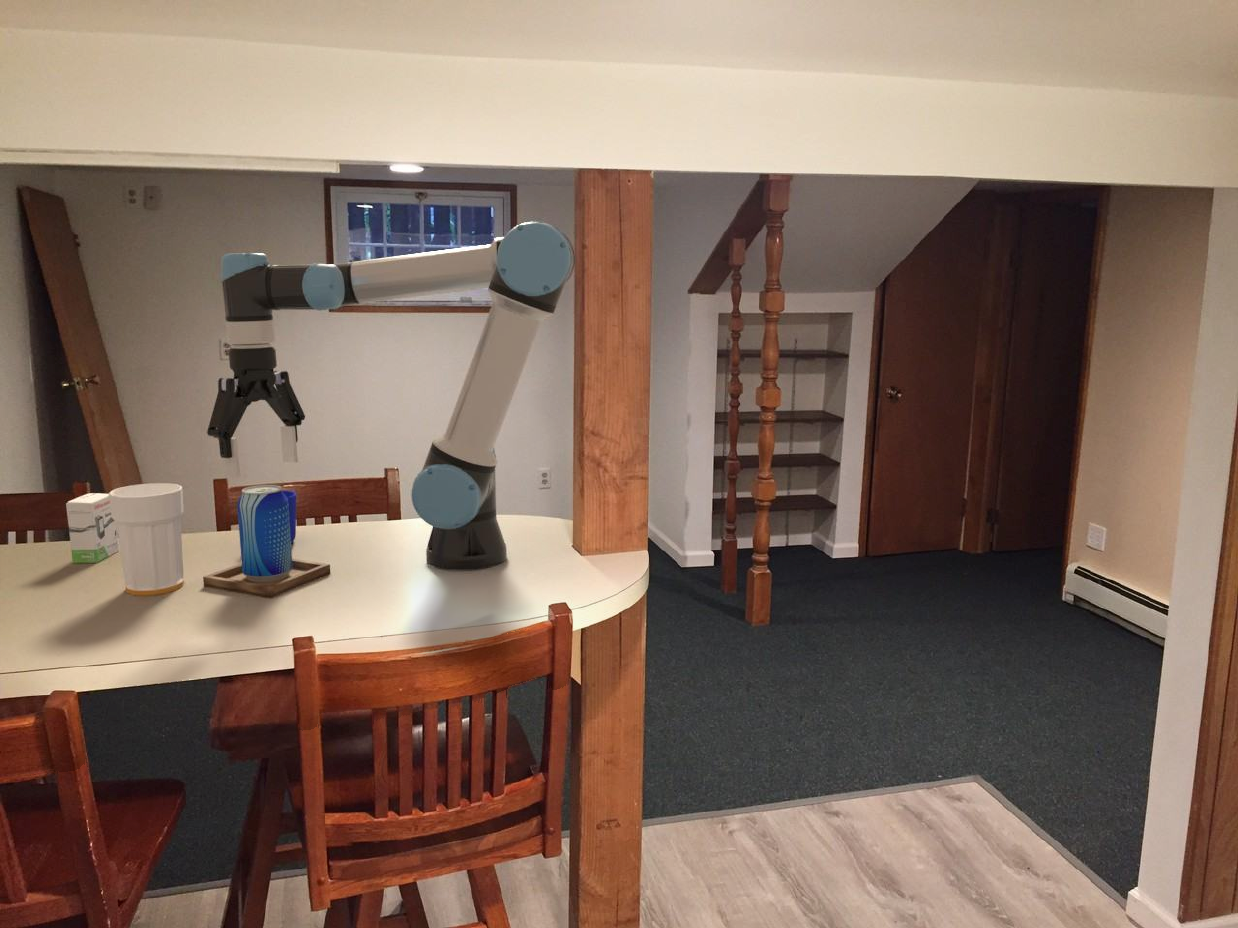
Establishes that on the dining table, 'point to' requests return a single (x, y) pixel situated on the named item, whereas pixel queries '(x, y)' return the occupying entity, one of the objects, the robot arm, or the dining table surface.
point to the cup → (149, 536)
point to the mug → (291, 512)
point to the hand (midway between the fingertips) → (262, 469)
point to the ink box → (91, 528)
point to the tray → (239, 583)
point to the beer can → (264, 533)
